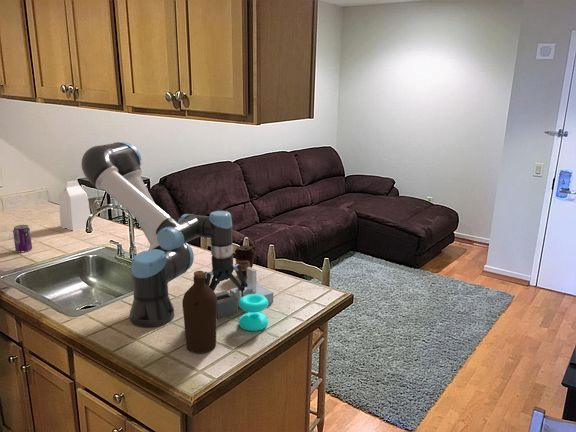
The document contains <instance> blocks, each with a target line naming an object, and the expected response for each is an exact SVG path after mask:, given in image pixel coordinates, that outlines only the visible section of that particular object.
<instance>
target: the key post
mask: <svg viewBox="0 0 576 432" xmlns="http://www.w3.org/2000/svg"><path fill="white" fill-rule="evenodd" d="M246 282H247V285H248V286H247V290H248V291H250V292H251V293H256V283H257V269H255V268H253V267H252V268H251V267H248V268H247V278H246Z"/></svg>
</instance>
